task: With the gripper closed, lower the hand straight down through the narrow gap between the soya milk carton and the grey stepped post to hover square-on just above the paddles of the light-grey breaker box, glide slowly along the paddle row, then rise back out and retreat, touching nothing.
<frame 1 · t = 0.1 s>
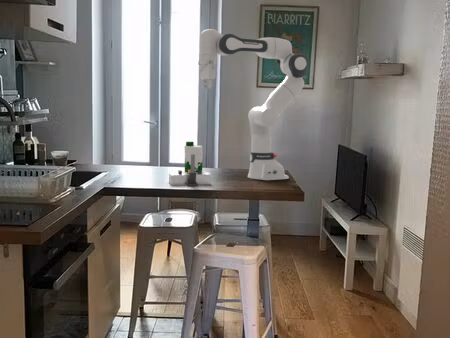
hand: (207, 88, 260), 48 cm above the countertop, fingers open, 8 cm apart
soya milk: (193, 180, 263), on the countertop
breaker paddle: (189, 171, 251), point 6 cm above the countertop, hinge at 0.0°
breaker box: (189, 183, 252), on the countertop
grey stepped post: (192, 185, 246), on the countertop
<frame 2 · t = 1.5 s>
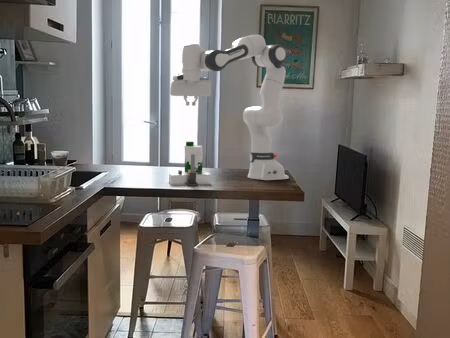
hand: (190, 105, 247), 39 cm above the countertop, fingers closed
nothing on the countertop moved.
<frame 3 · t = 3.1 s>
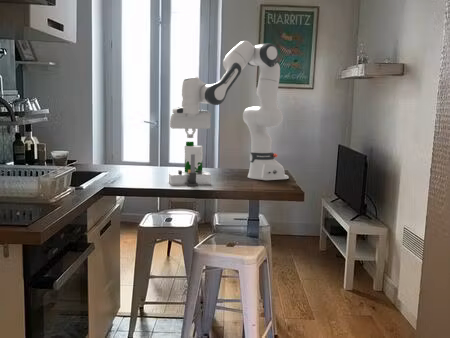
hand: (190, 137, 249), 23 cm above the countertop, fingers closed
nothing on the countertop moved.
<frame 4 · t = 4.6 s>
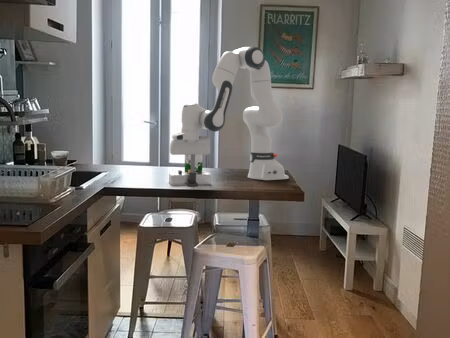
hand: (190, 163, 251), 10 cm above the countertop, fingers closed
nothing on the countertop moved.
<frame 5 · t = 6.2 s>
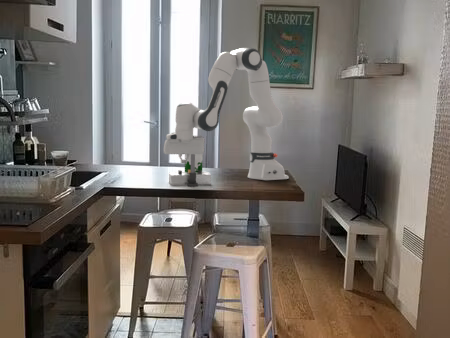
hand: (183, 163, 250), 10 cm above the countertop, fingers closed
nothing on the countertop moved.
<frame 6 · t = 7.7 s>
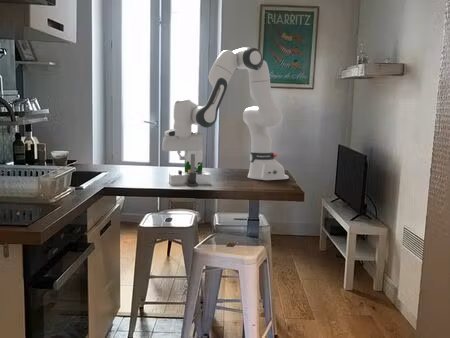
hand: (182, 159, 250), 12 cm above the countertop, fingers closed
nothing on the countertop moved.
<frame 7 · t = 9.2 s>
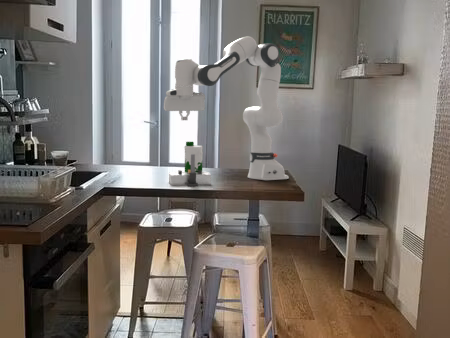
hand: (184, 120, 247), 32 cm above the countertop, fingers closed
nothing on the countertop moved.
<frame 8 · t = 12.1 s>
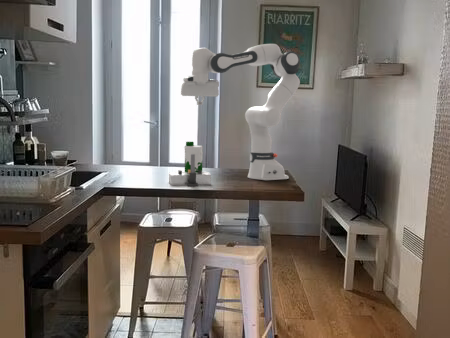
hand: (199, 104, 268), 39 cm above the countertop, fingers closed
nothing on the countertop moved.
at the end: soya milk moved 0.2 cm from its start; grey stepped post moved 0.0 cm from its start; breaker paddle at +0° (first picture: +0°) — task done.
